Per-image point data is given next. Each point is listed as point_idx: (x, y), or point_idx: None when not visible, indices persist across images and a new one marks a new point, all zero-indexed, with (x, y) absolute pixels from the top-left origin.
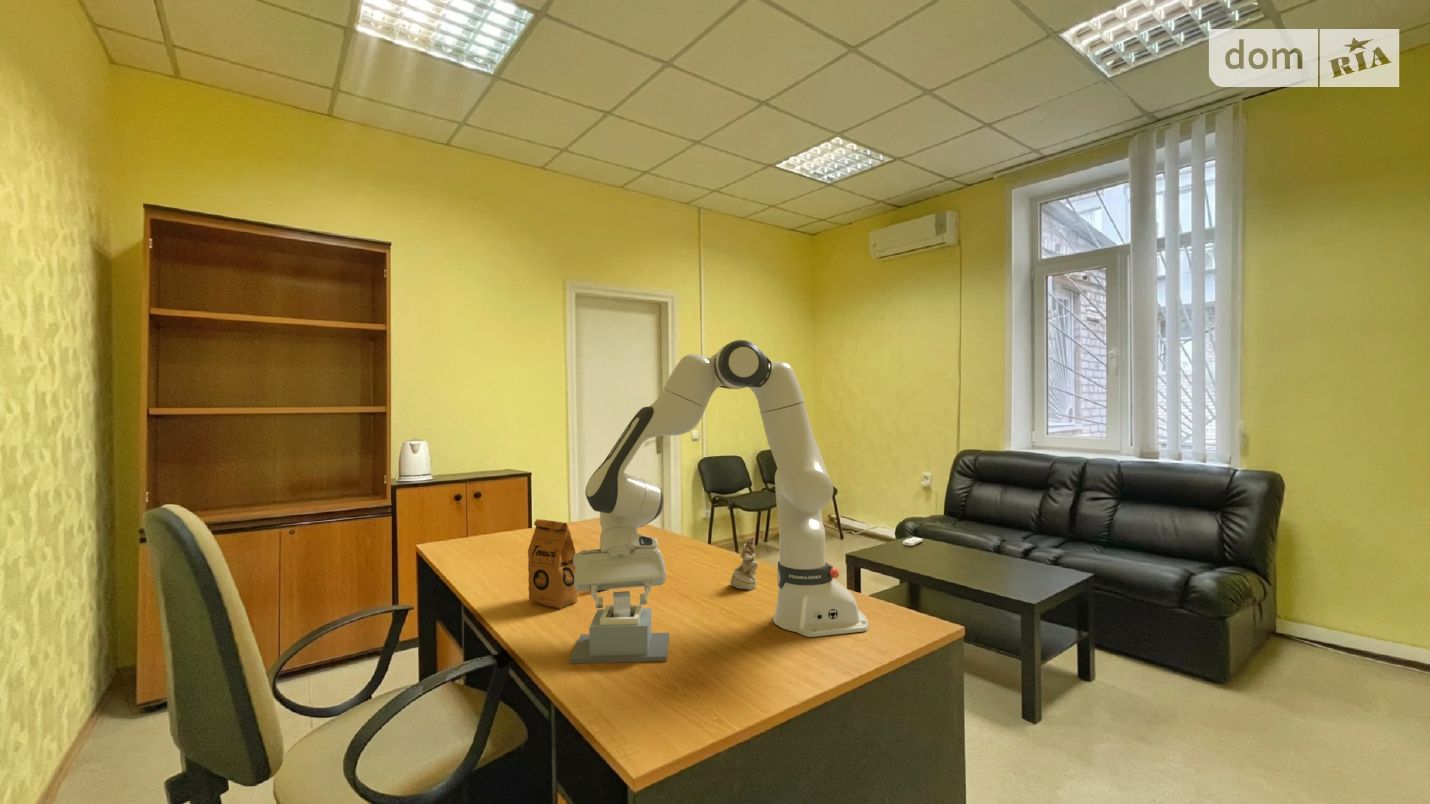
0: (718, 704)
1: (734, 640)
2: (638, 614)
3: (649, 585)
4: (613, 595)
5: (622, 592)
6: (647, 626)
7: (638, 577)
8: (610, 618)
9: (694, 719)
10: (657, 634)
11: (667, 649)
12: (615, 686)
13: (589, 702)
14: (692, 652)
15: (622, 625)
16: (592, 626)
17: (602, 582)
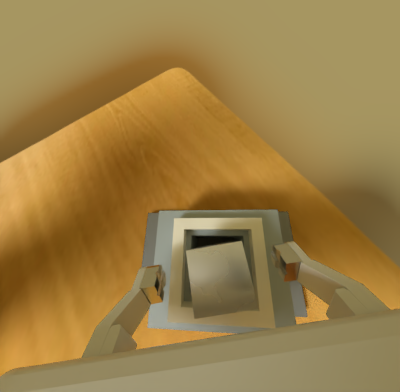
0: (112, 131)
1: (46, 280)
2: (174, 243)
3: (102, 328)
4: (247, 264)
5: (219, 298)
6: (159, 213)
7: (128, 367)
8: (237, 221)
9: (135, 112)
10: None
11: (145, 239)
12: (208, 157)
13: (229, 131)
14: (114, 240)
15: (208, 215)
16: (271, 212)
17: (336, 319)
